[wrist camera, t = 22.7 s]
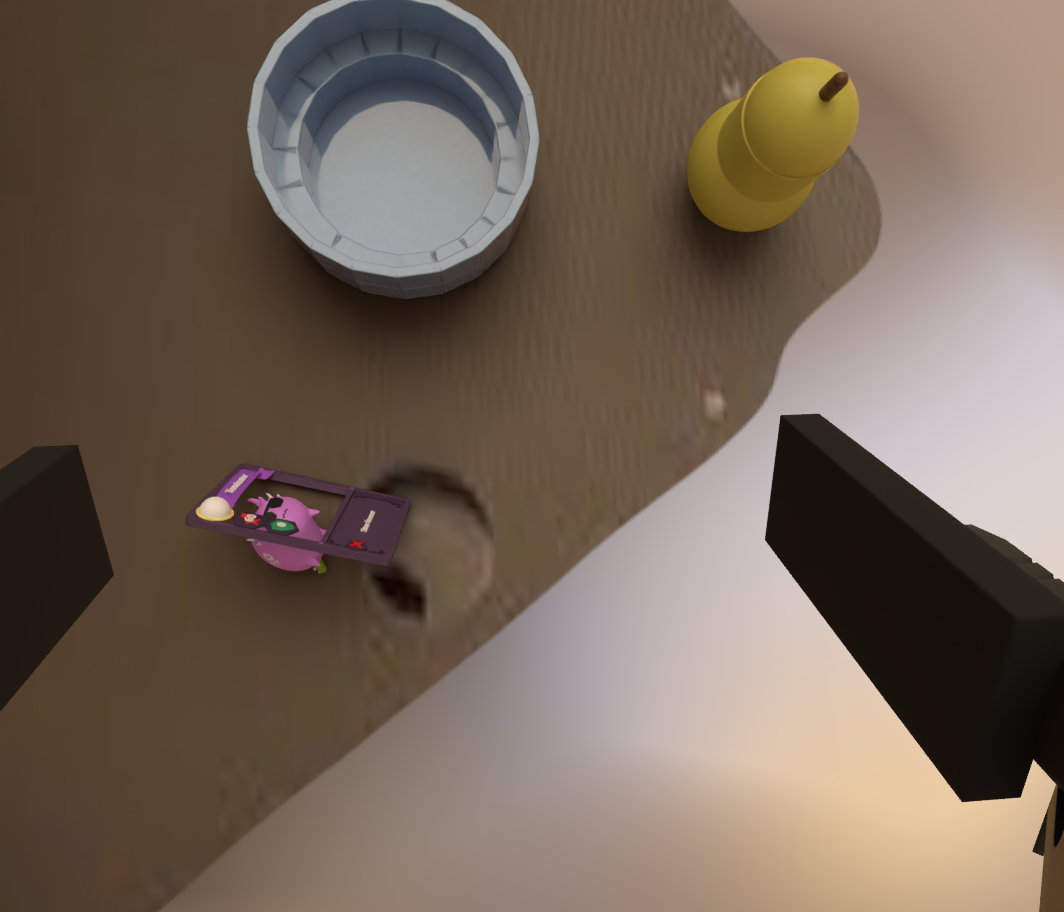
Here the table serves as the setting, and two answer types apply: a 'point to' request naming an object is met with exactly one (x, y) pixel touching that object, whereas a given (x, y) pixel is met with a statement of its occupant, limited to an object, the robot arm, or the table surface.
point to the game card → (304, 521)
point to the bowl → (395, 142)
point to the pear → (772, 144)
